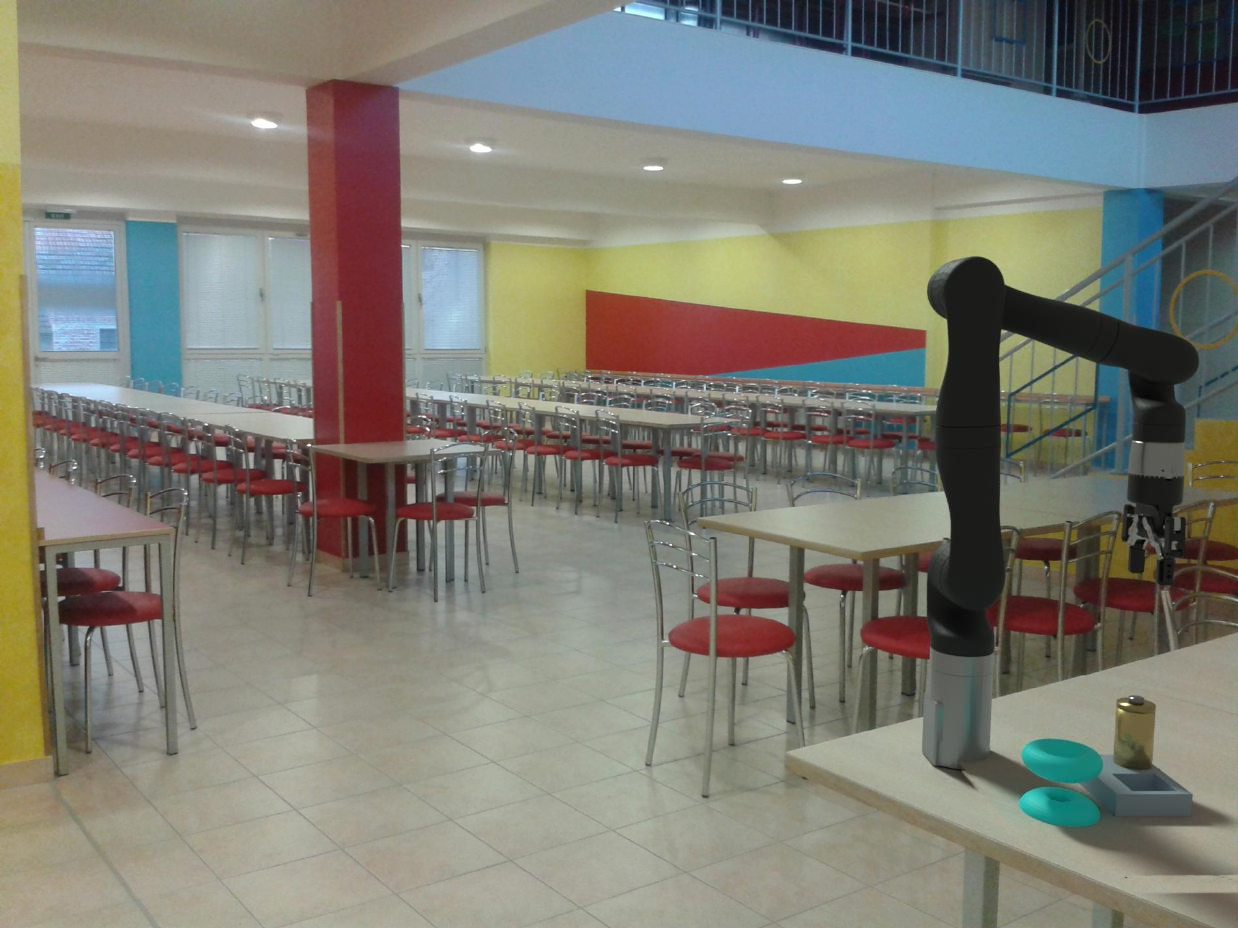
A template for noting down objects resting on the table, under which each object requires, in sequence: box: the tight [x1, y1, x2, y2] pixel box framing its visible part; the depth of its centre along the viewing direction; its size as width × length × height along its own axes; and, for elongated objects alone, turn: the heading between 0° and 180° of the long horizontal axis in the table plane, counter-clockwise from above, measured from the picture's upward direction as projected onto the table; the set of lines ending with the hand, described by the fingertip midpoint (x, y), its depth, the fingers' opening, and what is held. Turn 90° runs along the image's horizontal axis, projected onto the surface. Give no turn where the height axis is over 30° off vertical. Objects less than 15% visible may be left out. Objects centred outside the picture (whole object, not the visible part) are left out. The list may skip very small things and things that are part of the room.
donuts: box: [1018, 738, 1103, 828], centre depth 146 cm, size 10×10×10 cm
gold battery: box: [1112, 695, 1157, 770], centre depth 155 cm, size 5×5×10 cm
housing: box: [1078, 754, 1194, 818], centre depth 152 cm, size 10×14×4 cm
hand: (1149, 578), depth 166 cm, fingers open, 8 cm apart
